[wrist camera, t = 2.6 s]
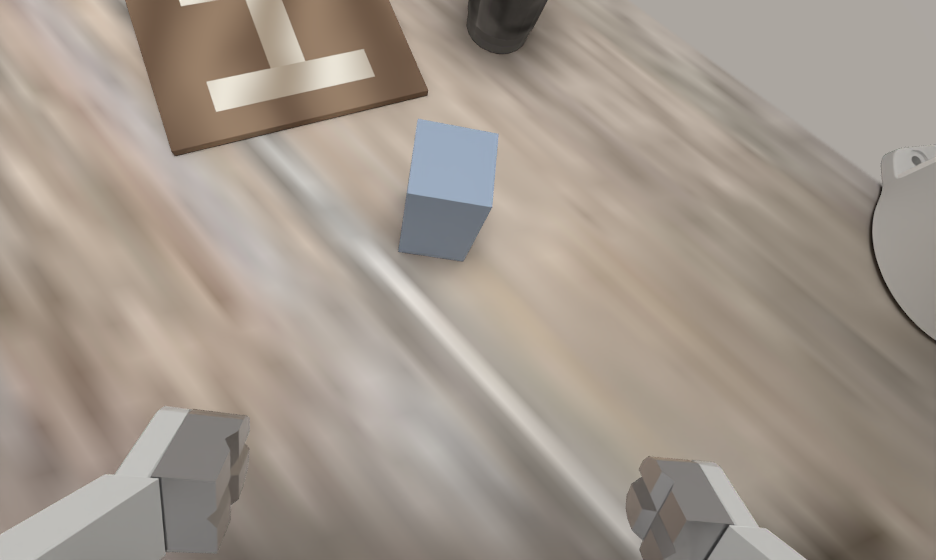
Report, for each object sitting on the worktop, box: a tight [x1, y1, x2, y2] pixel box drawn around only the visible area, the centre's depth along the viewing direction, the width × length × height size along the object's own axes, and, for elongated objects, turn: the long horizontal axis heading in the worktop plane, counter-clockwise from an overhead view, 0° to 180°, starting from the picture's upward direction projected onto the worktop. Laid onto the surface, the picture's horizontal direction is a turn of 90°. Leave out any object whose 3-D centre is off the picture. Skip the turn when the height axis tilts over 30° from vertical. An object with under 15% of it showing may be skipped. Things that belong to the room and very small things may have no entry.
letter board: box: [125, 0, 428, 156], centre depth 34 cm, size 16×14×1 cm
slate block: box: [398, 119, 498, 261], centre depth 28 cm, size 4×4×8 cm
